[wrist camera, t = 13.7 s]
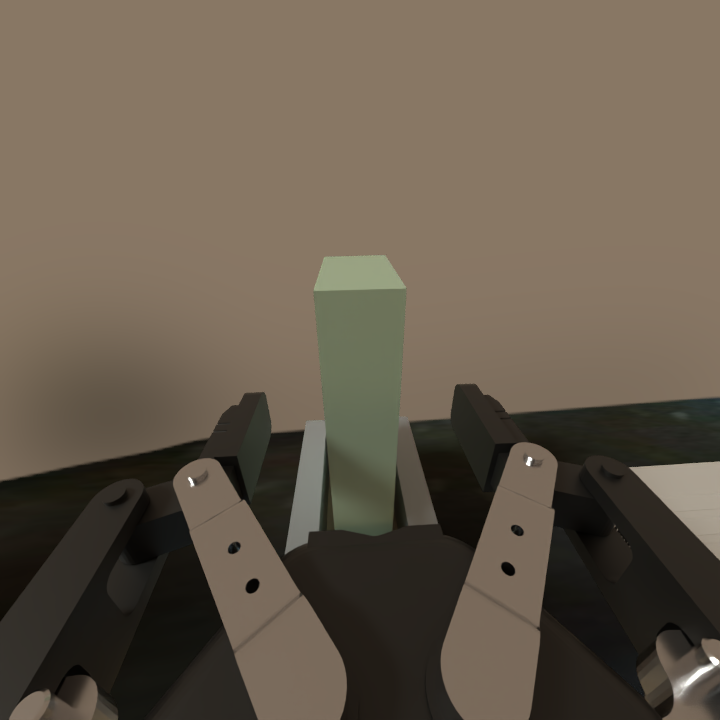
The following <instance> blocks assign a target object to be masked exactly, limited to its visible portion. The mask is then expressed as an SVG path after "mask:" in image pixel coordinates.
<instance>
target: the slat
mask: <svg viewBox="0 0 720 720" xmlns="http://www.w3.org/2000/svg"><path fill="white" fill-rule="evenodd" d="M314 302H315V313H316V325H317V336H318V347H319V359H320V370H321V382H322V393H323V404H324V416H325V427H326V438H327V450H328V461H329V473H330V484H331V495H332V507H333V518H334V529H335V530H346V531H351V532H356V533H361V534H366V535H371V536H378V535H382V534H385V533H388V532H391V531H392V530H393V512H394V495H395V478H396V461H397V444H398V426H399V408H400V392H401V373H402V358H403V339H404V323H405V305H406V287H405V285H404V284H403V282H402V281H401V279H400V278H399V276H398V274H397V273H396V271H395V270H394V268H393V267H392V265H391V264H390V262H389V260H388V259H387V258H386V256H385V255H383V256H338V257H324V260H323V263H322V266H321V269H320V272H319V276H318V279H317V282H316V285H315V288H314Z"/></svg>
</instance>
